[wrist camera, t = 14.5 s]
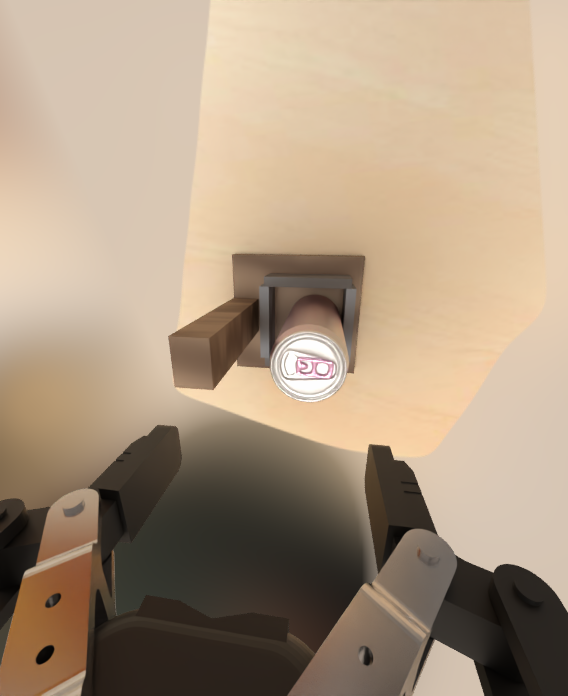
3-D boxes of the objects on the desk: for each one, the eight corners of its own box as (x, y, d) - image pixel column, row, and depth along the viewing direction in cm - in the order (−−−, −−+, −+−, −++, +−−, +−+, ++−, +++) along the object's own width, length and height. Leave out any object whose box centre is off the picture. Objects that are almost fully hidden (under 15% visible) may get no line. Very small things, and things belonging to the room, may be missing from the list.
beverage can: (336, 345, 36) (343, 409, 22) (287, 339, 37) (265, 399, 23) (343, 296, 34) (356, 333, 20) (292, 291, 34) (269, 324, 20)
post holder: (235, 254, 35) (158, 262, 19) (363, 256, 34) (398, 267, 17) (240, 361, 40) (182, 442, 24) (352, 368, 38) (372, 461, 22)
